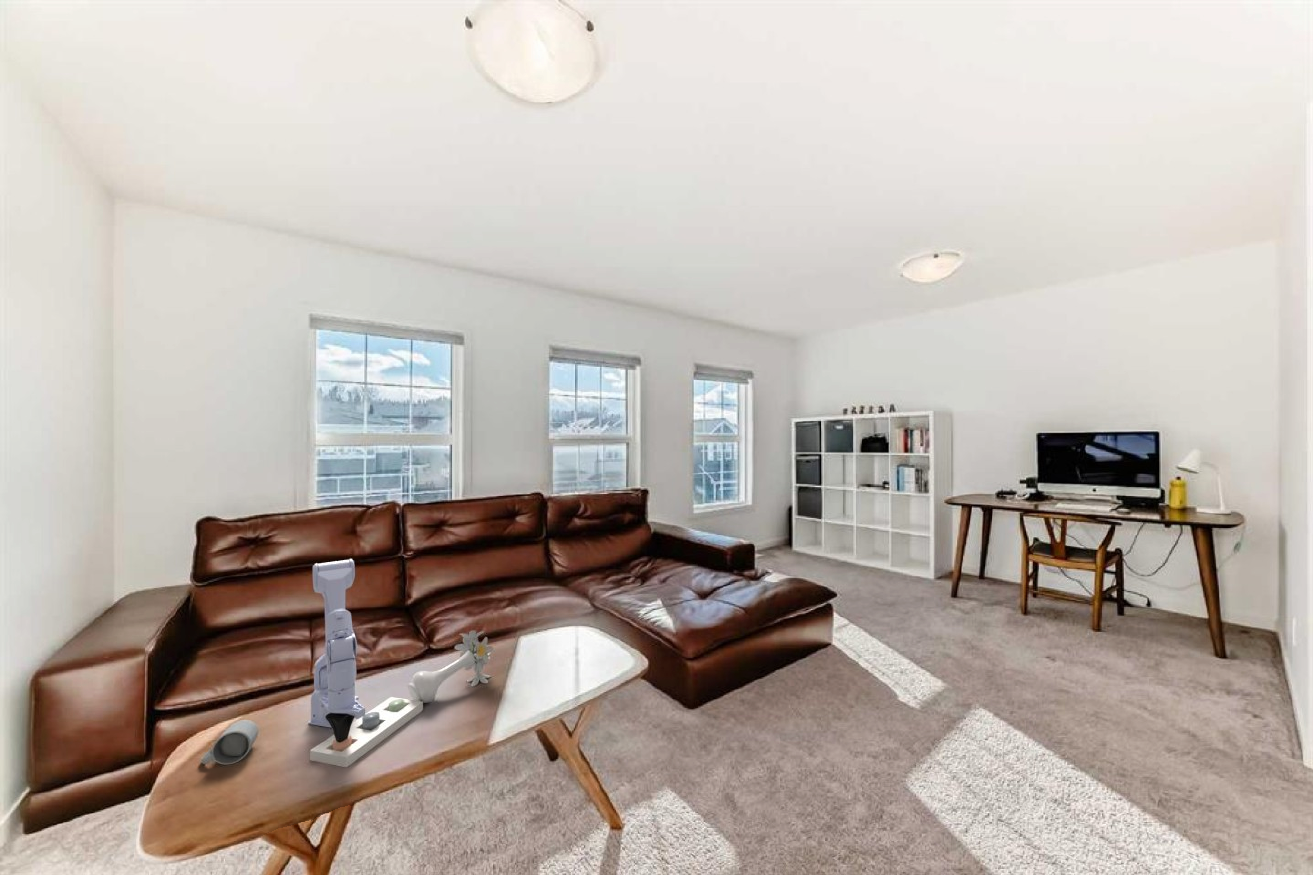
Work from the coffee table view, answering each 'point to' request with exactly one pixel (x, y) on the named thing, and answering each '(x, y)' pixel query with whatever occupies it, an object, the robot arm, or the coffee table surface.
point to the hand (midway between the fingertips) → (342, 739)
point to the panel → (366, 734)
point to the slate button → (370, 721)
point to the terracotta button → (342, 744)
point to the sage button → (396, 705)
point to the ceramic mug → (233, 743)
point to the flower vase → (453, 668)
